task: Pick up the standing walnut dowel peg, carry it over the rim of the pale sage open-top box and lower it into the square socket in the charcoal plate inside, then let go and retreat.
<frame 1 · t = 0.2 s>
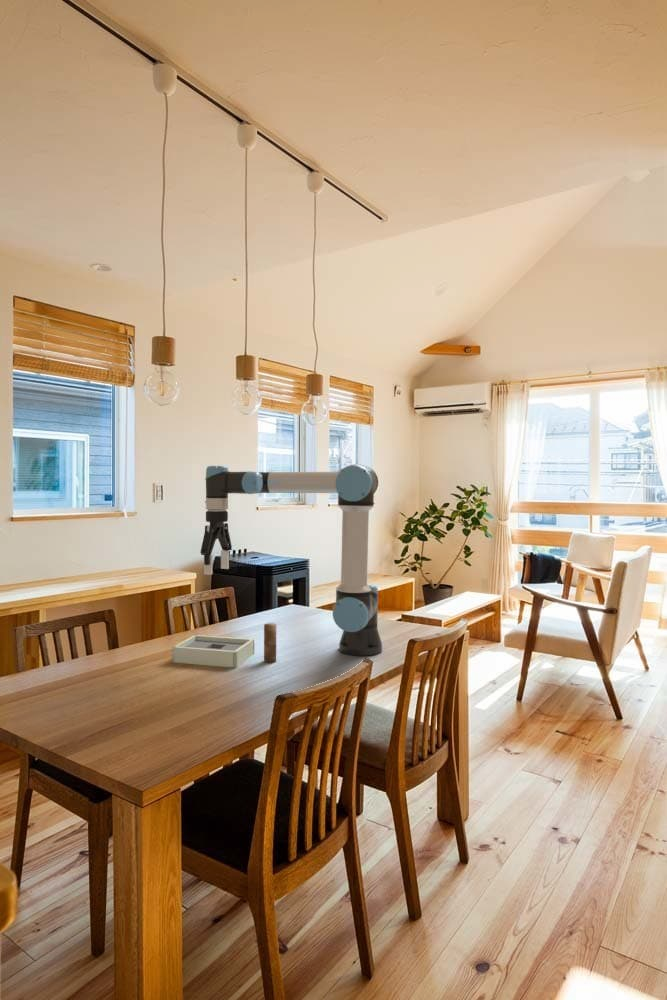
hand: (216, 571, 211), 27 cm above the table, fingers open, 13 cm apart
peg: (270, 661, 199), on the table
box: (214, 657, 202), on the table
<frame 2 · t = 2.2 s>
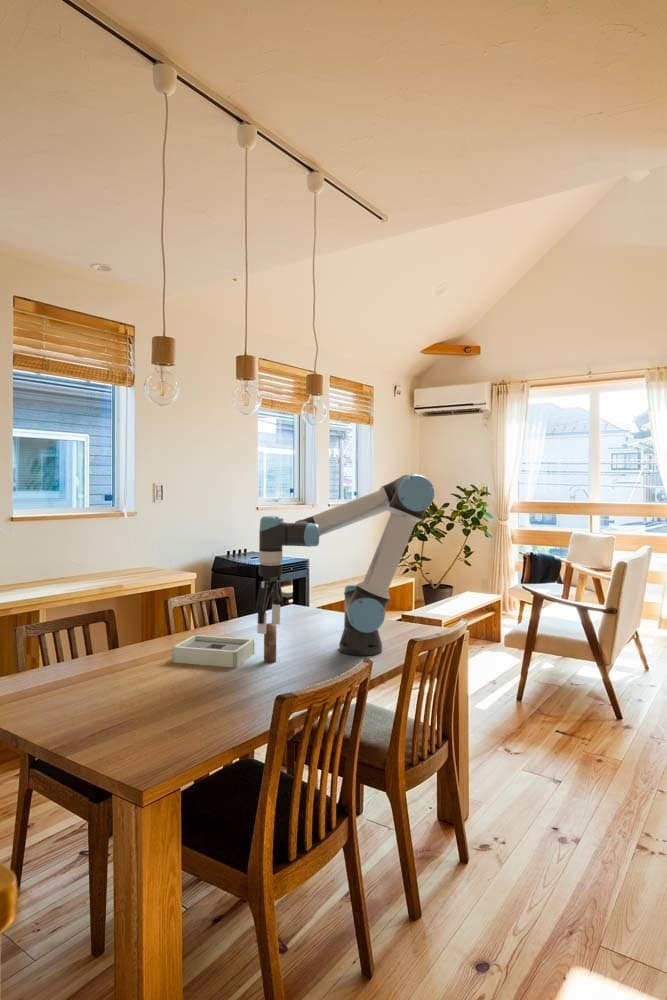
hand: (269, 628, 198), 11 cm above the table, fingers open, 13 cm apart
nothing on the table moved.
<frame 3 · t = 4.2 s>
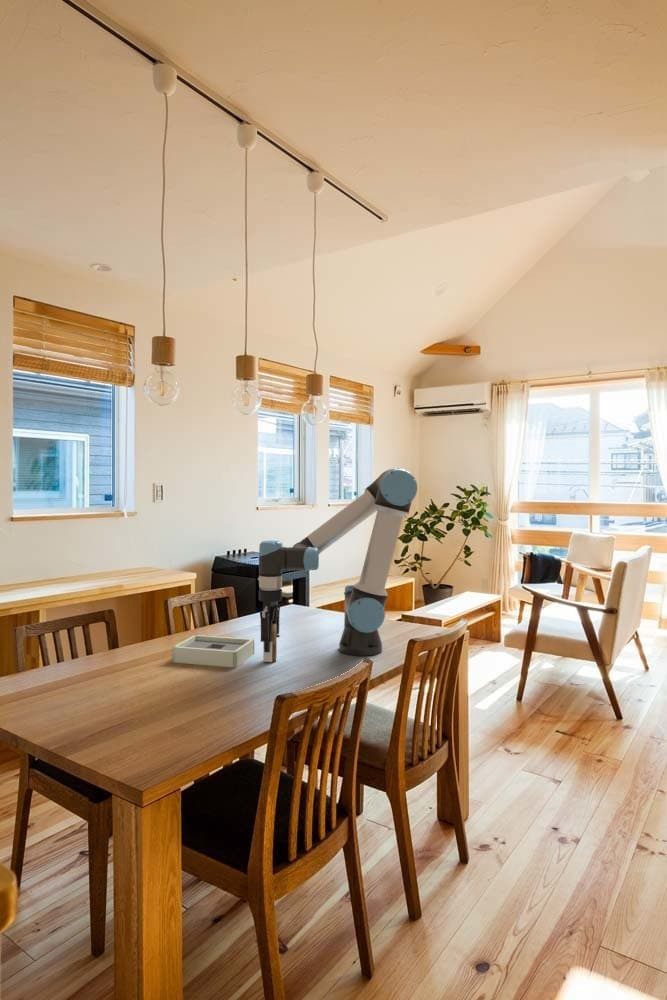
hand: (270, 659, 199), 1 cm above the table, fingers closed on peg, 4 cm apart
peg: (270, 661, 199), on the table, touching gripper
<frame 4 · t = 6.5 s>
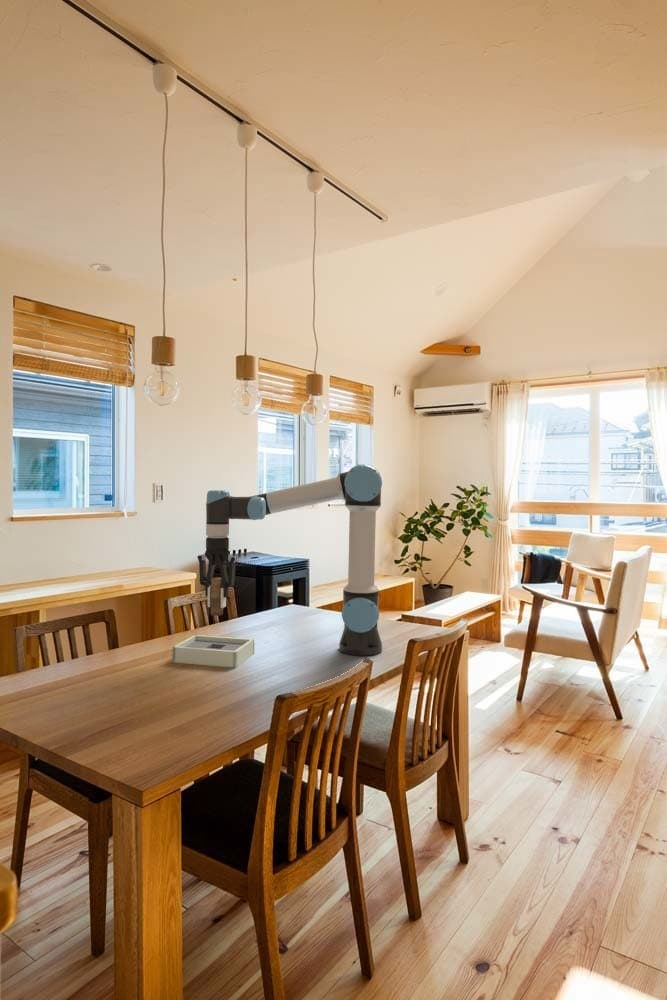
hand: (216, 606, 203), 17 cm above the table, fingers closed on peg, 4 cm apart
peg: (216, 614, 203), point 14 cm above the table, touching gripper
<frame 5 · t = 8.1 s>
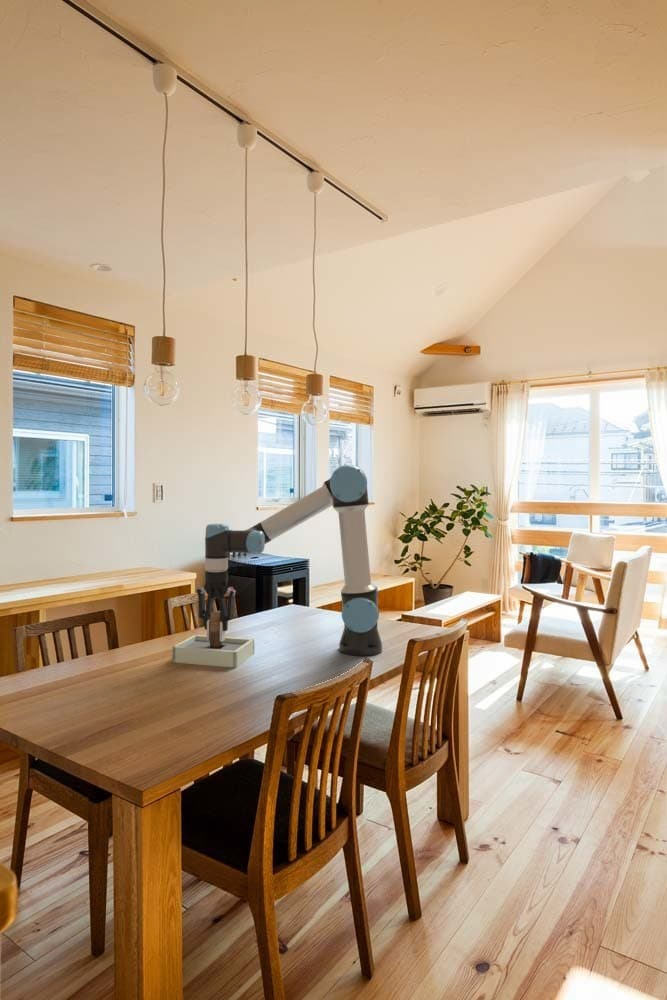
hand: (216, 639, 203), 6 cm above the table, fingers closed on peg, 4 cm apart
peg: (215, 647, 203), point 3 cm above the table, touching gripper
when the fingers open (5 cm above the table, at t = 9.2 s): peg drops 1 cm, resting in box.
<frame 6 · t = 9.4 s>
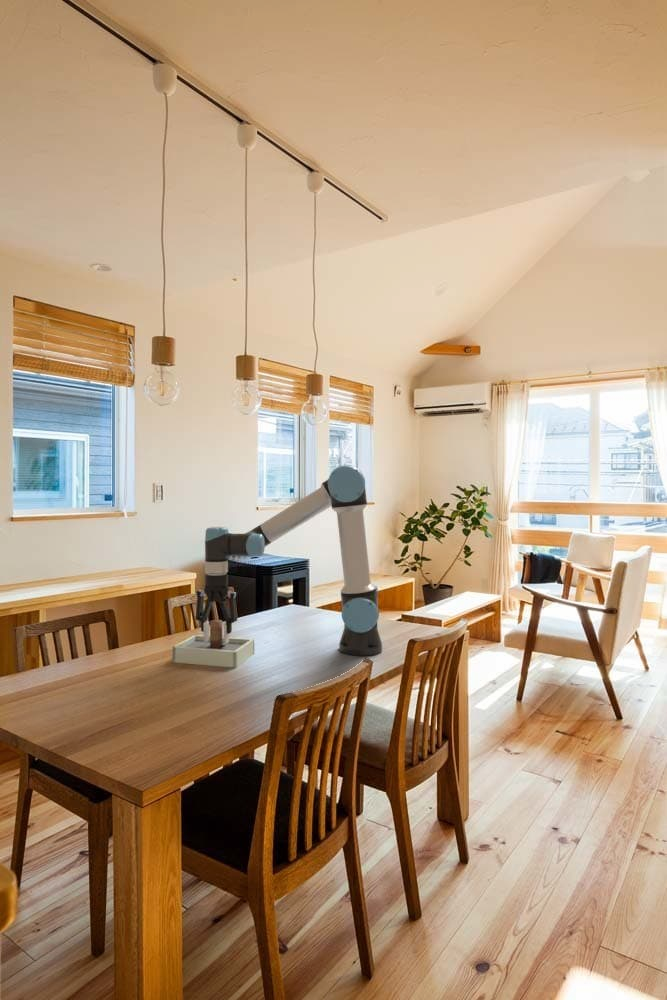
hand: (216, 641, 203), 5 cm above the table, fingers open, 7 cm apart
peg: (216, 656, 203), resting in box
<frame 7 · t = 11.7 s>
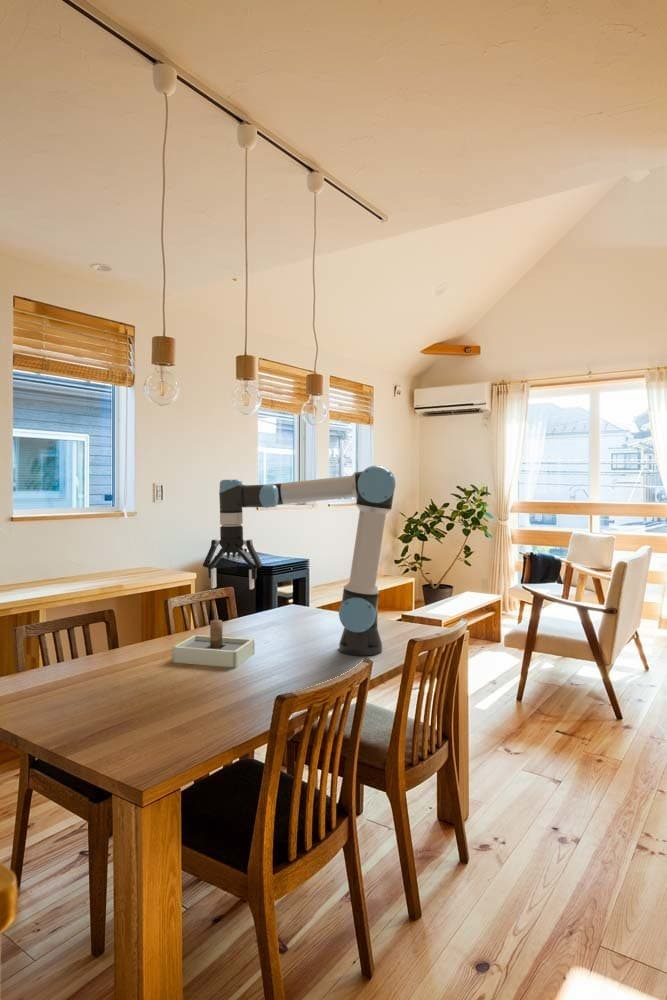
hand: (232, 588, 204), 23 cm above the table, fingers open, 13 cm apart
nothing on the table moved.
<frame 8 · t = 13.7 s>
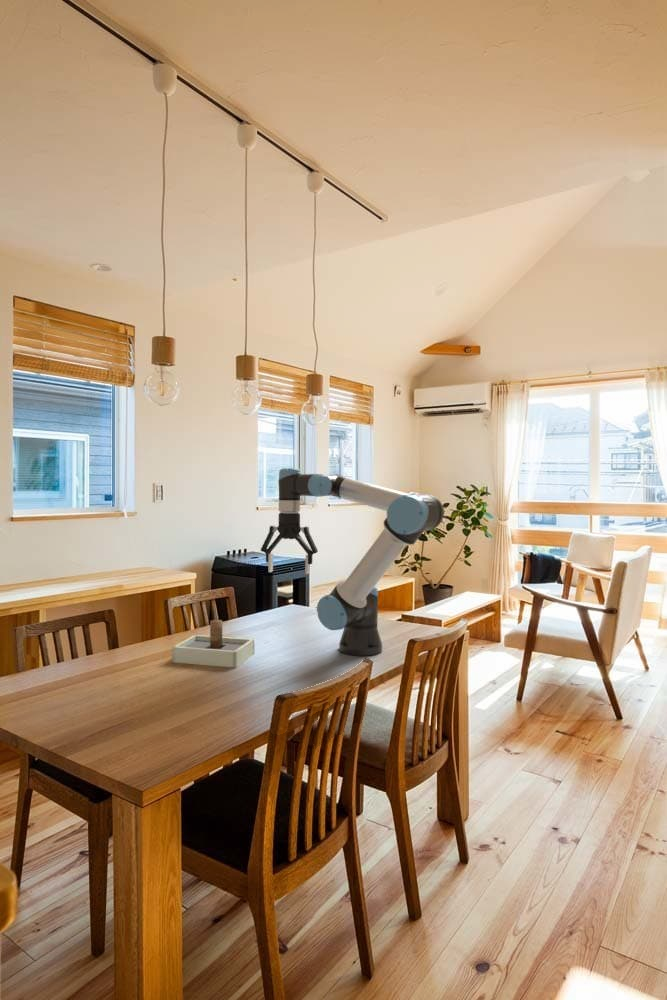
hand: (288, 572, 214), 27 cm above the table, fingers open, 13 cm apart
nothing on the table moved.
at the end: peg 0.0 cm from the target spot on the box, point 0.0 cm above the box's base; peg tilted 0°; the gripper is holding nothing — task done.
